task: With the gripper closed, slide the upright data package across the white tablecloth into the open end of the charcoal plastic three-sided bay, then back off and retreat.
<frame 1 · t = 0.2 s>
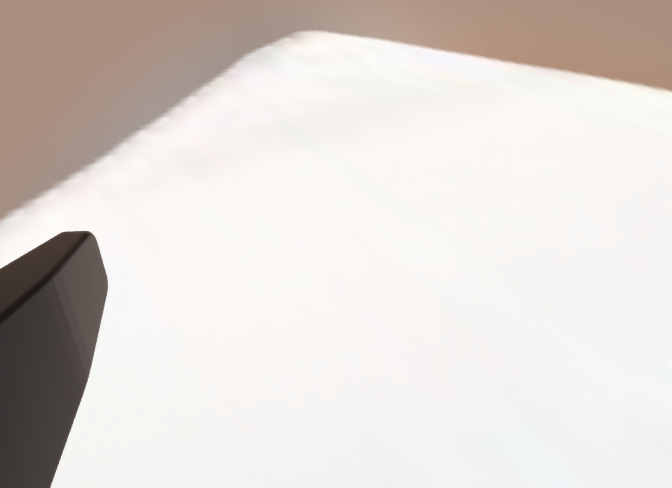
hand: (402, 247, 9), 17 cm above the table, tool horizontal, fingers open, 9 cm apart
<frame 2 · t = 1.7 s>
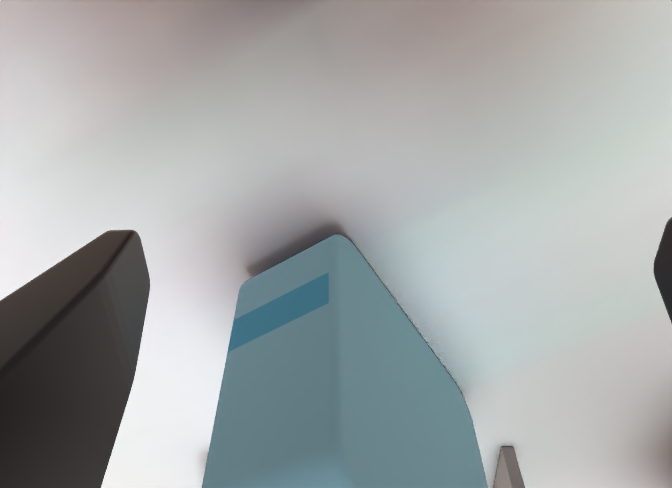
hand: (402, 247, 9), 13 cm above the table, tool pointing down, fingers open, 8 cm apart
data package: (363, 334, 28), on the table
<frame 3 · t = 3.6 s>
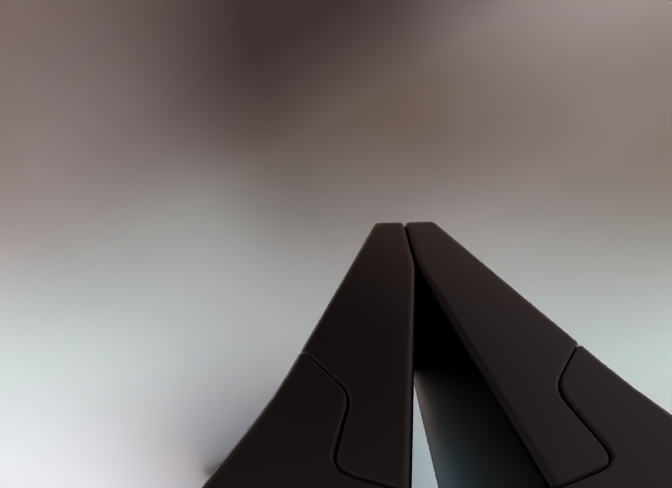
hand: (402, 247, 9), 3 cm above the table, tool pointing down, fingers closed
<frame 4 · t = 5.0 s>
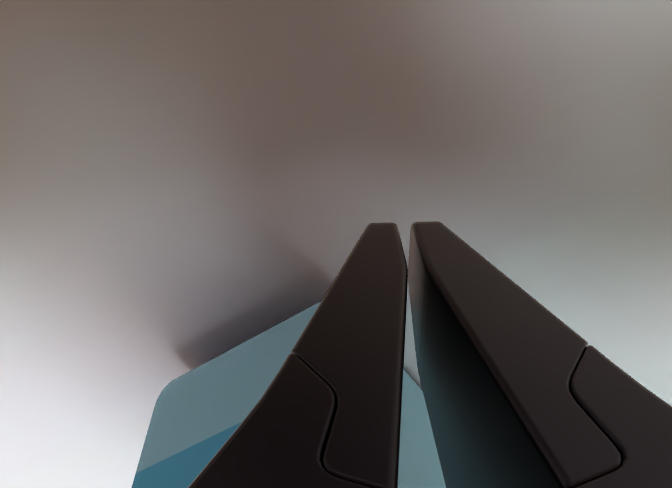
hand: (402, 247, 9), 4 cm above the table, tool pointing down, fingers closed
data package: (377, 444, 18), on the table, touching gripper
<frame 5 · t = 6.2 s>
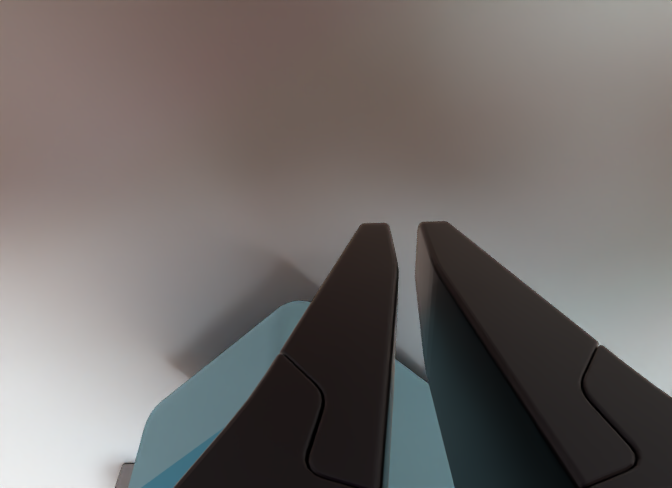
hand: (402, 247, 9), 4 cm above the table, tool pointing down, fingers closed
data package: (389, 434, 17), on the table, touching gripper
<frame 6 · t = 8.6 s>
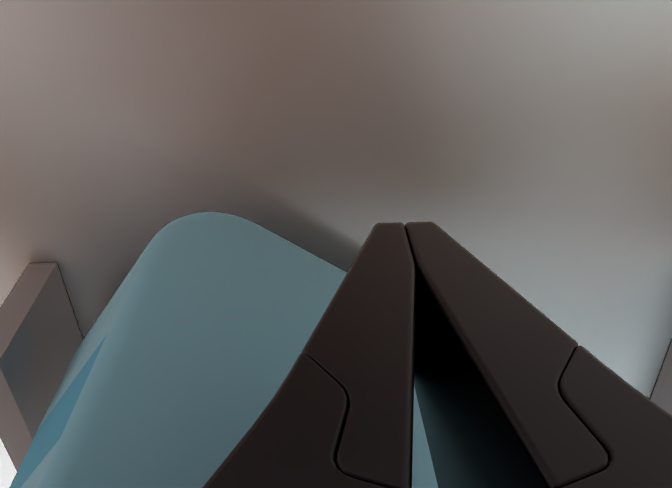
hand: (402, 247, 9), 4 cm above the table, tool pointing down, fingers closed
data package: (374, 354, 15), on the table, touching gripper
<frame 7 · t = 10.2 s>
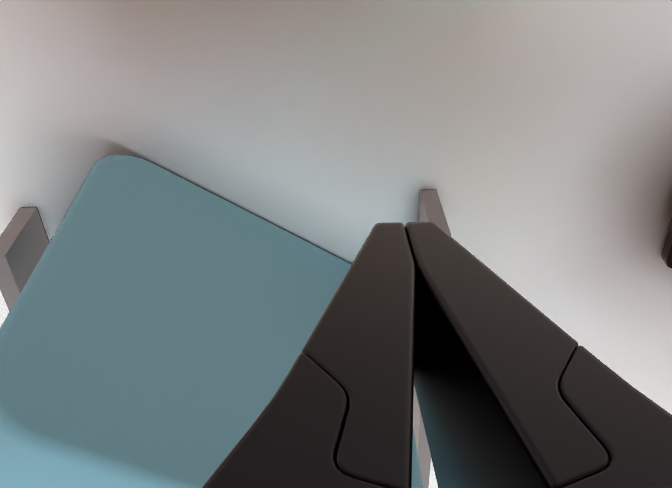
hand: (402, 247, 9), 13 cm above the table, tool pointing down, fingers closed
data package: (234, 254, 25), on the table
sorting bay: (252, 363, 28), on the table
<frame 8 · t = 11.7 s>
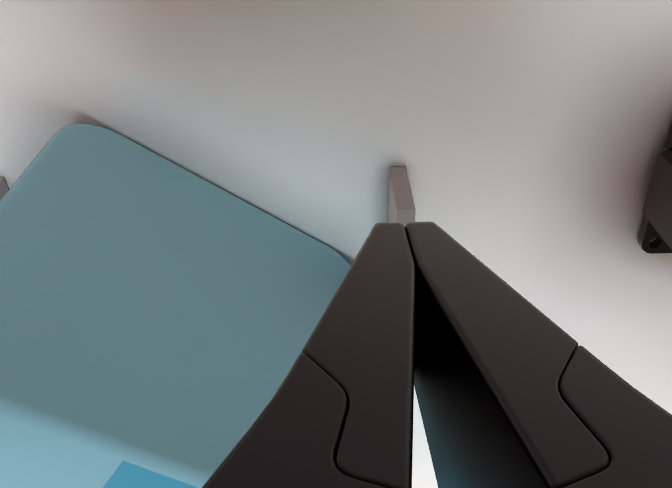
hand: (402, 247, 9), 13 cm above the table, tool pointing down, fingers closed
data package: (203, 230, 25), on the table
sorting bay: (224, 344, 28), on the table
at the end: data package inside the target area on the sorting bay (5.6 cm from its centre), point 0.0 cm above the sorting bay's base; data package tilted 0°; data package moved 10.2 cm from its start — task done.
